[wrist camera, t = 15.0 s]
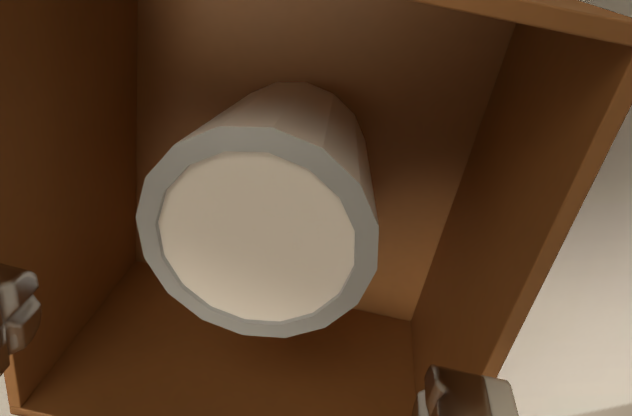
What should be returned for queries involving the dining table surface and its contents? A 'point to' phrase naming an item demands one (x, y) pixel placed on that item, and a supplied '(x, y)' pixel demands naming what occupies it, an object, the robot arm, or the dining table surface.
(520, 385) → the dining table surface
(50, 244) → the carton
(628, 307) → the dining table surface
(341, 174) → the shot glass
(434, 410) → the robot arm
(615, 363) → the dining table surface
